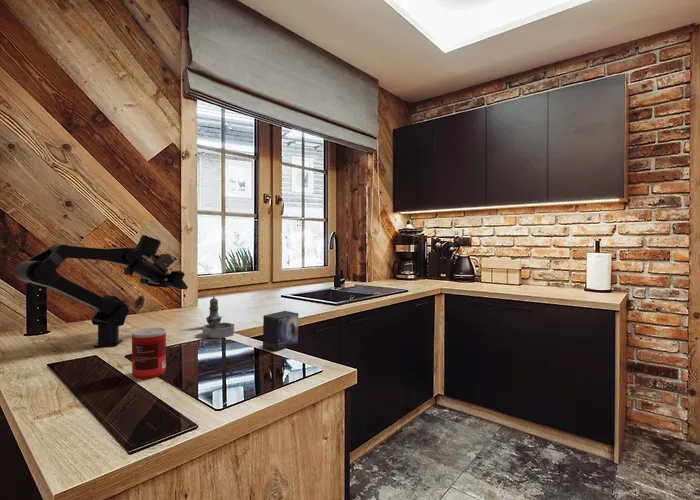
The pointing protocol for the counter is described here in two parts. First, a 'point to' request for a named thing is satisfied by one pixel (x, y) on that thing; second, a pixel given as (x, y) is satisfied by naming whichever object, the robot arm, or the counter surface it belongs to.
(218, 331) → the grey polygonal dish
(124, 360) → the counter surface
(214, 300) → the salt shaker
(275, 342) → the small box
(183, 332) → the counter surface
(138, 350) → the canned food
